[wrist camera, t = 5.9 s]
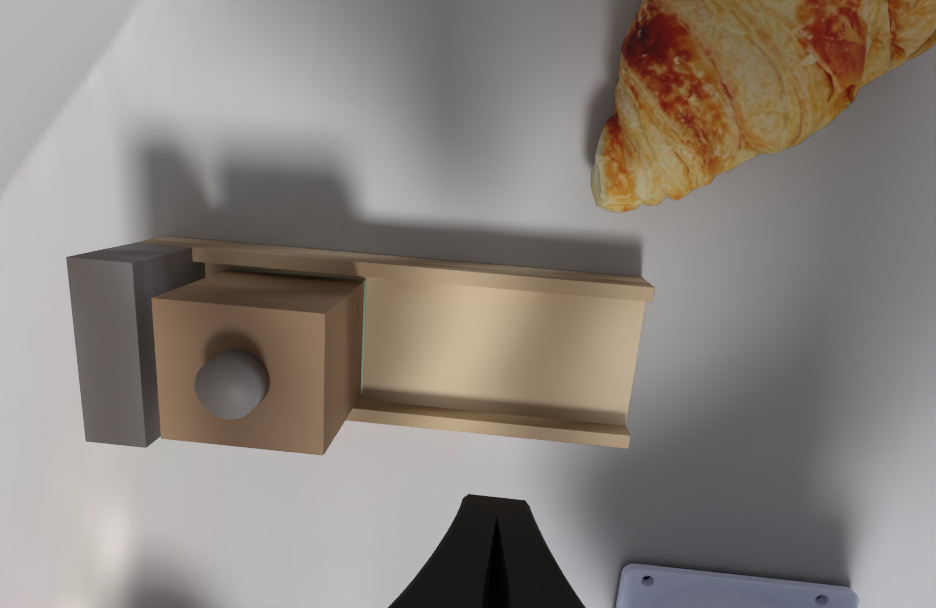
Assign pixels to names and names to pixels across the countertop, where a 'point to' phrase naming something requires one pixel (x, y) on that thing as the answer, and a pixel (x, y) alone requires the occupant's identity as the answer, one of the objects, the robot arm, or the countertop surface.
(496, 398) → the rail
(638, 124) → the croissant
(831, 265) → the countertop surface
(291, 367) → the carriage
